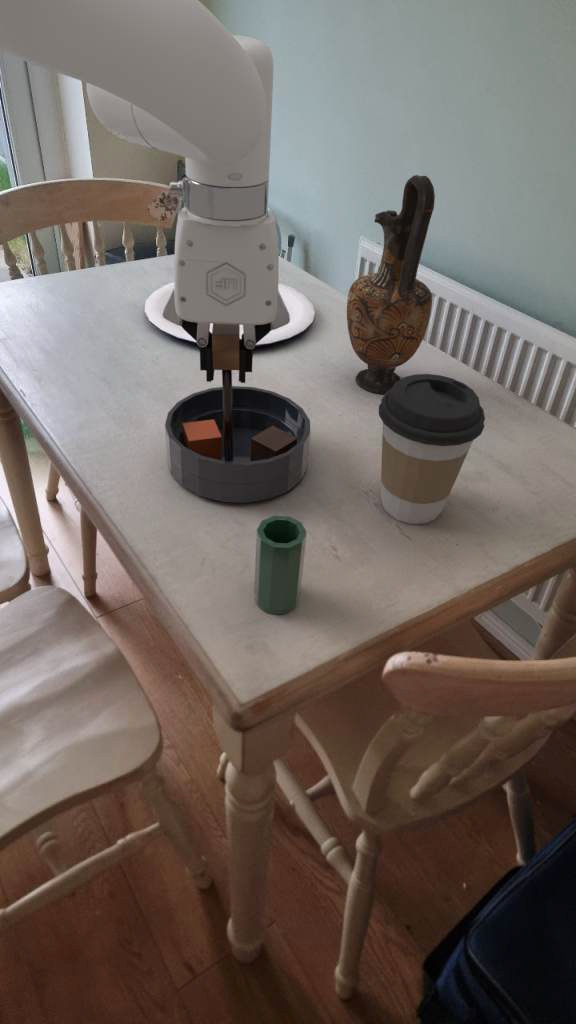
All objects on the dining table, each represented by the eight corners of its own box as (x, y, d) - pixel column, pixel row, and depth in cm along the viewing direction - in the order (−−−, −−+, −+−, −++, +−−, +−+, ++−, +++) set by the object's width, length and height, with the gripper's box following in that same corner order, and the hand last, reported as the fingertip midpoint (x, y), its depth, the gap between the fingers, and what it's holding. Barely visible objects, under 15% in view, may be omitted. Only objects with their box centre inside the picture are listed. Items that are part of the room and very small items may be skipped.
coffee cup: (478, 513, 82) (512, 403, 72) (412, 550, 76) (440, 436, 67) (409, 466, 88) (431, 359, 79) (343, 497, 83) (359, 386, 73)
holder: (248, 608, 68) (250, 540, 62) (263, 577, 72) (267, 510, 66) (290, 620, 67) (296, 553, 62) (304, 588, 71) (311, 521, 65)
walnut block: (250, 464, 86) (250, 437, 83) (271, 451, 88) (272, 425, 85) (274, 478, 84) (276, 451, 81) (295, 464, 86) (297, 437, 84)
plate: (184, 368, 104) (183, 358, 103) (121, 295, 124) (120, 286, 122) (346, 336, 116) (347, 326, 115) (266, 274, 135) (266, 265, 134)
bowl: (143, 485, 82) (139, 443, 78) (202, 414, 95) (201, 375, 91) (281, 521, 79) (284, 479, 75) (322, 442, 91) (326, 403, 88)
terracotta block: (183, 449, 87) (182, 422, 85) (214, 445, 88) (214, 419, 86) (189, 468, 84) (188, 441, 82) (221, 463, 85) (221, 436, 83)
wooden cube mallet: (217, 473, 82) (211, 334, 71) (218, 457, 84) (213, 321, 73) (240, 473, 82) (239, 335, 71) (241, 457, 84) (239, 322, 73)
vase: (400, 362, 110) (437, 156, 91) (429, 403, 101) (477, 182, 82) (329, 366, 108) (352, 155, 89) (352, 408, 99) (383, 182, 79)
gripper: (132, 205, 60) (146, 391, 72) (318, 215, 61) (302, 396, 73) (143, 181, 66) (154, 357, 78) (312, 191, 67) (299, 362, 79)
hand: (226, 374), depth 75 cm, fingers closed on wooden cube mallet, 2 cm apart
